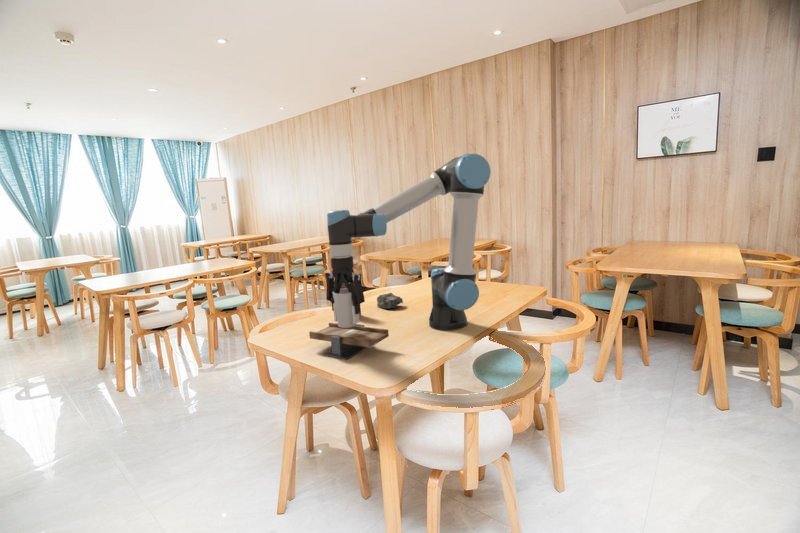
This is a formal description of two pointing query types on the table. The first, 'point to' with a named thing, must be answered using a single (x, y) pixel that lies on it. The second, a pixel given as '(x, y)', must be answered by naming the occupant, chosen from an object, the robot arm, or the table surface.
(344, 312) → the cup
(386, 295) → the rock
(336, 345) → the pivot stand
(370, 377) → the table surface
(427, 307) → the table surface
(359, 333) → the beam
